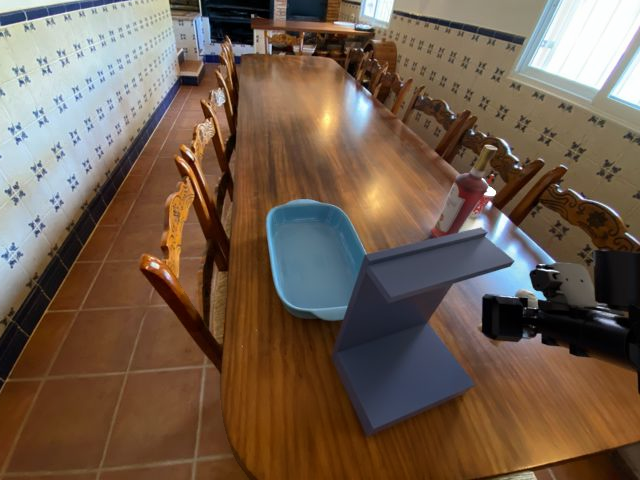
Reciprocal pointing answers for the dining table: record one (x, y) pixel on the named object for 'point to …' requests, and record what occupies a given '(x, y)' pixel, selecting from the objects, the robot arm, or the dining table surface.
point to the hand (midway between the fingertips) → (507, 309)
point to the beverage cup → (483, 200)
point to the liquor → (464, 196)
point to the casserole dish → (313, 258)
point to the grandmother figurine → (531, 304)
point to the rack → (407, 327)
